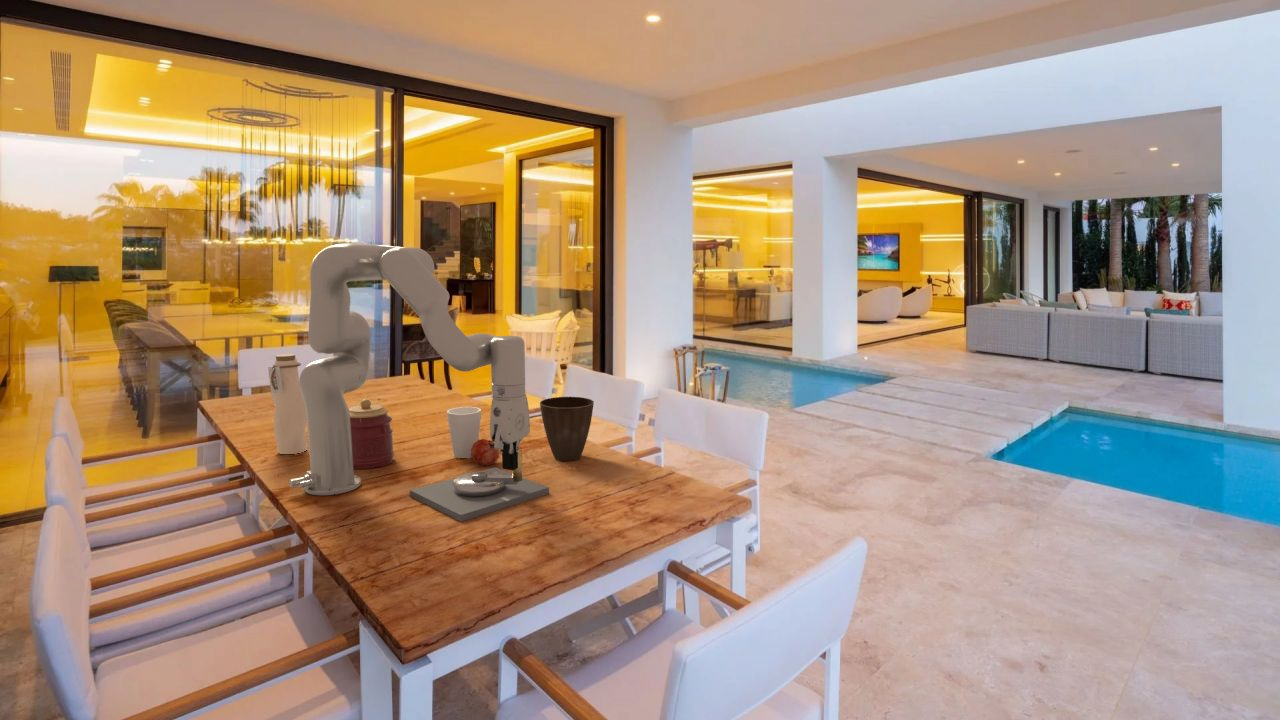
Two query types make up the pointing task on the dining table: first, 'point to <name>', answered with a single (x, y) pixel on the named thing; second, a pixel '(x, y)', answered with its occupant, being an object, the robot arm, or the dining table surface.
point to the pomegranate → (484, 452)
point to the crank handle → (486, 481)
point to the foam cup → (463, 429)
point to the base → (471, 507)
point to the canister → (371, 435)
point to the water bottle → (288, 405)
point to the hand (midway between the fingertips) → (510, 468)
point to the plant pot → (567, 425)
